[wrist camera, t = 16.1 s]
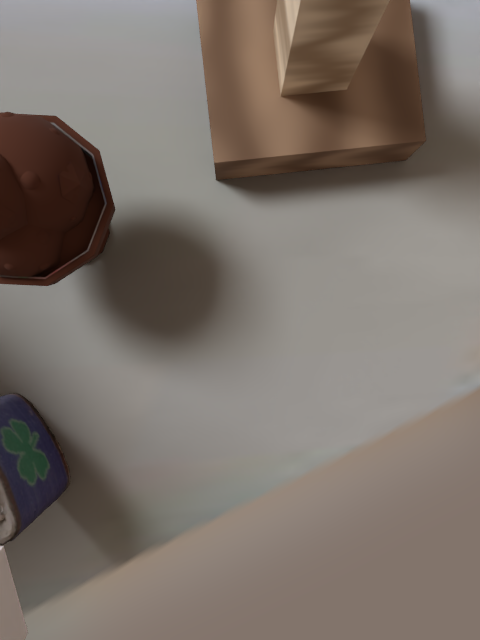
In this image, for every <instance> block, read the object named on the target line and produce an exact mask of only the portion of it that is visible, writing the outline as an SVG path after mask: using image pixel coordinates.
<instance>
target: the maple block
mask: <svg viewBox="0 0 480 640" xmlns="http://www.w3.org/2000/svg"><path fill="white" fill-rule="evenodd" d="M389 1H390V0H277V6H276V13H275V21H274V28H273V34H274V42H275V51H276V60H277V69H278V78H279V87H280V96H289V95H298V94H308V93H318V92H328V91H338V90H347V88H348V86H349V84H350V82H351V80H352V77H353V75H354V73H355V71H356V69H357V67H358V65H359V63H360V61H361V59H362V57H363V55H364V53H365V50H366V48H367V46H368V44H369V42H370V40H371V38H372V36H373V34H374V32H375V30H376V28H377V25H378V23H379V21H380V19H381V17H382V15H383V13H384V11H385V9H386V7H387V5H388V3H389Z"/></svg>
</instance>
